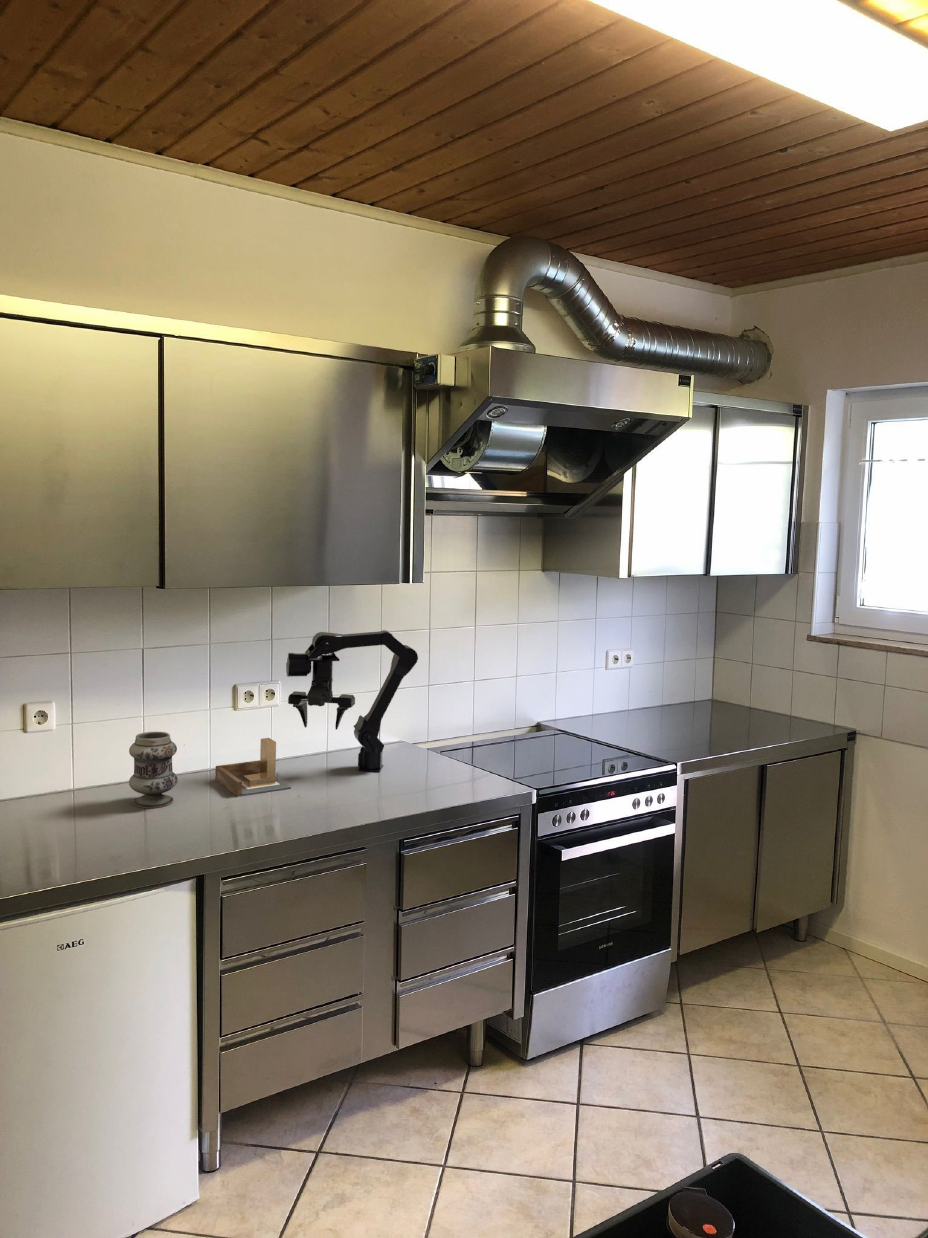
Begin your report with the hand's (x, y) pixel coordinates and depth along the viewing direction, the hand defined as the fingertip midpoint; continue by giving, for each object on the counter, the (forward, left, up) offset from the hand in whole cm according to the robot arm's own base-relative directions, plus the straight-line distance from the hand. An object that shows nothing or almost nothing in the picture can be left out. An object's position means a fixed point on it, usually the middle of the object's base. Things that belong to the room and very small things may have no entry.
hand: (321, 728), depth 282 cm
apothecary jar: (+35, +37, -13) cm, 53 cm away
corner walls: (+15, +16, -13) cm, 26 cm away
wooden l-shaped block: (+13, +17, -12) cm, 25 cm away
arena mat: (+14, +17, -13) cm, 25 cm away
